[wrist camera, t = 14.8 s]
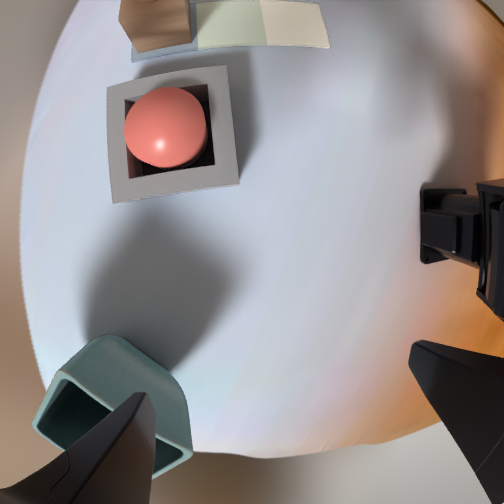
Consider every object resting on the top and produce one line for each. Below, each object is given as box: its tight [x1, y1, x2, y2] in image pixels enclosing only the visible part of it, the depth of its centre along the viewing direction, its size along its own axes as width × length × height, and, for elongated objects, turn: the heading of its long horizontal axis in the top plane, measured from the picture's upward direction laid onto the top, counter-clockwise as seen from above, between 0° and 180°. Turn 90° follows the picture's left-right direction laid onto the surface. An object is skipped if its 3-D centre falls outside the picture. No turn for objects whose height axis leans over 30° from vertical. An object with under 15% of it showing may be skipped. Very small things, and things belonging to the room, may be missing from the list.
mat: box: [131, 0, 331, 63], centre depth 15 cm, size 15×5×1 cm, turn 96°
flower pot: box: [32, 335, 193, 479], centre depth 16 cm, size 9×9×9 cm
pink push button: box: [124, 87, 208, 170], centre depth 14 cm, size 4×4×4 cm
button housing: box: [107, 65, 239, 203], centre depth 15 cm, size 7×7×3 cm
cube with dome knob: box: [118, 0, 192, 54], centre depth 11 cm, size 4×4×6 cm
